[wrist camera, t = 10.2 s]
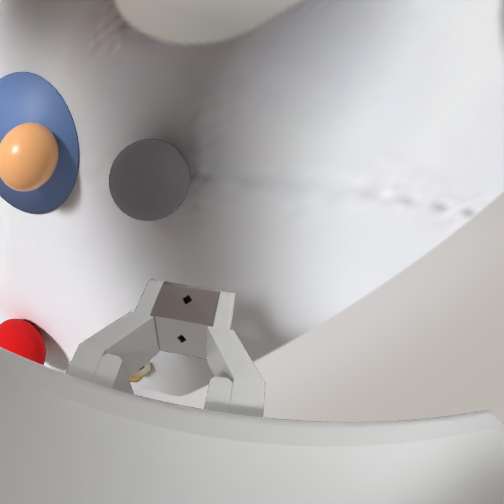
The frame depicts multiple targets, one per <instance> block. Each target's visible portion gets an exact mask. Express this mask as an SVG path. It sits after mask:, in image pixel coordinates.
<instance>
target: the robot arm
mask: <svg viewBox="0 0 504 504" xmlns="http://www.w3.org/2000/svg"><path fill="white" fill-rule="evenodd" d="M235 296H236V293H233V292H226V291H219V290H212V289H205V288H199V287H191V286H186V285H181V284H176V283H171V282H166V281H165V282H164V281H159V280H154V279H151V280H150V281H148V283H147V285H146V288H145V290H144V292H143V294H142V296H141V298H140V301H139V303H138V305H137V307H136V310H135V312H129V313H127V314H126V315H124V316H123V317H121V318H119V319H118V320H116V321H115V322H113V323H112V324H110V325H108V326H107V327H105V328H104V329H102V330H101V331H99V332H98V333H96V334H94V335H93V336H91V337H90V338H88V339H87V340H85V341H84V342H82V343H81V344H79V346H78V348H77V350H76V352H75V354H74V356H73V358H72V361H71V363H70V365H69V367H68V369H67V371H66V373H63V372H60V371H57V370H54V369H52V368H49V367H46V366H44V365H41V364H39V363H36V362H34V361H31V360H29V359H26V358H24V357H22V356H19V355H17V354H15V353H13V352H10V351H8V350H6V349H4V348H2V347H0V504H504V422H503V421H502V420H501V419H500V418H499V417H498V416H497V415H496V414H495V413H493V412H492V411H489V410H483V411H477V412H471V413H464V414H458V415H450V416H442V417H434V418H424V419H412V420H398V421H377V422H323V421H301V420H286V419H273V418H263V411H264V396H265V381H264V379H263V378H262V376H261V375H260V373H259V371H258V370H257V368H256V366H255V365H254V363H253V361H252V360H251V358H250V356H249V355H248V353H247V351H246V350H245V348H244V346H243V345H242V343H241V341H240V339H239V338H238V336H237V334H236V333H235V331H234V330H231V326H232V318H233V311H234V303H235ZM159 350H161V351H166V352H172V353H178V354H184V355H188V356H193V357H198V358H203V359H206V360H207V363H208V365H209V367H210V370H211V372H212V374H213V378H211V379H210V382H209V387H208V392H207V397H206V402H205V407H204V409H199V408H193V407H188V406H183V405H178V404H173V403H168V402H163V401H159V400H155V399H151V398H146V397H142V396H138V395H134V393H133V390H132V387H131V385H130V382H129V378H130V377H132V376H133V375H134V374H135V373H136V372H137V371H138V370H139V369H140V368H142V367H143V366H144V365H145V364H146V363H147V362H148V361H149V360H150V359H152V358H153V357H154V356H155V355H156V354H157V353H158V352H159Z"/></svg>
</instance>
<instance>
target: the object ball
mask: <svg viewBox="0 0 504 504" xmlns="http://www.w3.org/2000/svg"><path fill="white" fill-rule="evenodd" d="M58 155H59V153H58V145H57V141H56V139H55V137H54V135H53V133H52V132H51V131H50V130H49V129H48V128H47V127H45V126H43V125H41V124H39V123H33V122H29V123H23V124H20V125H18V126H16V127H14V128H13V129H12V130H10V131H9V132H8V133H7V134H6V136H5V137H4V138H3V140H2V141H1V143H0V177H1V179H2V180H3V182H4V183H5V184H6V185H7V186H9V187H10V188H12V189H14V190H17V191H31V190H34V189H37V188H39V187H40V186H42V185H43V184H45V183H46V182H47V181H48V180H49V178H50V177H51V176H52V174H53V172H54V170H55V168H56V165H57V162H58Z"/></svg>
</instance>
